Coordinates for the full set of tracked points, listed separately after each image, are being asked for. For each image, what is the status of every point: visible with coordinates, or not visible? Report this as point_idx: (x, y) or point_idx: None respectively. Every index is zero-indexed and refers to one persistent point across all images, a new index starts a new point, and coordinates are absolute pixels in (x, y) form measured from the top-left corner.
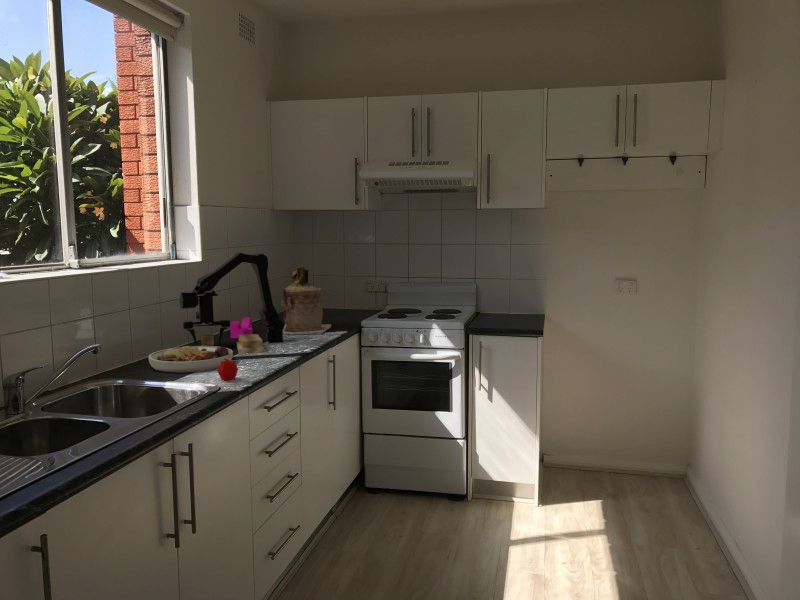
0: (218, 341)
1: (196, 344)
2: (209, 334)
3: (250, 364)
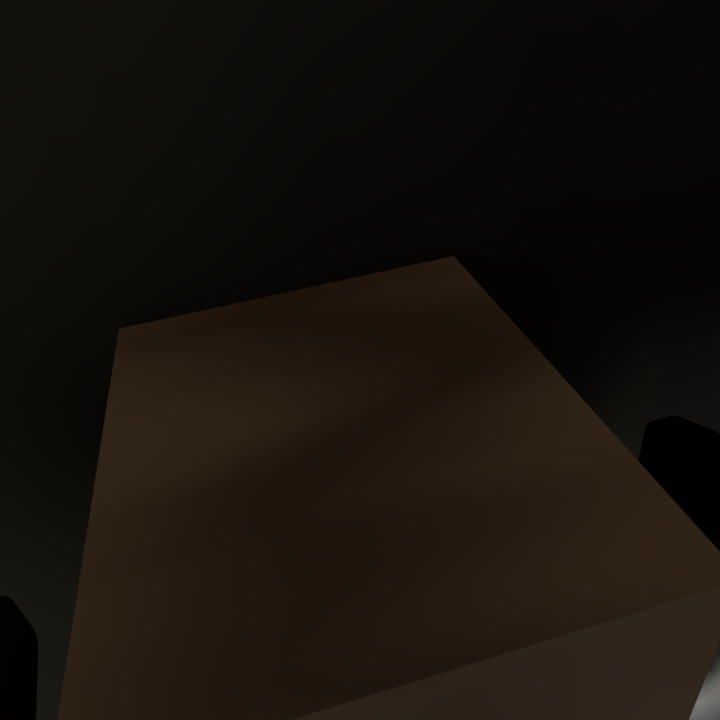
0: (676, 490)
1: (33, 653)
2: (550, 634)
3: None
